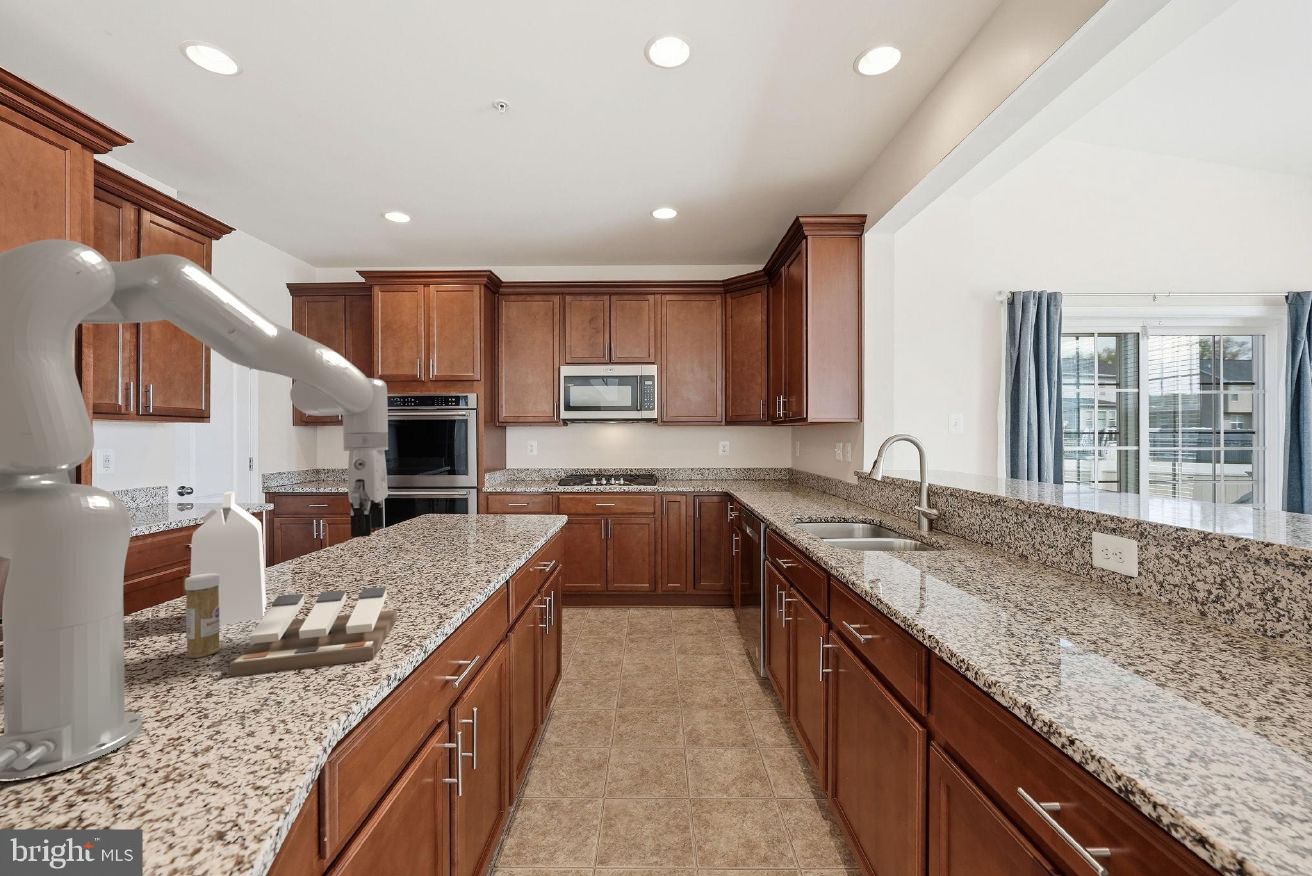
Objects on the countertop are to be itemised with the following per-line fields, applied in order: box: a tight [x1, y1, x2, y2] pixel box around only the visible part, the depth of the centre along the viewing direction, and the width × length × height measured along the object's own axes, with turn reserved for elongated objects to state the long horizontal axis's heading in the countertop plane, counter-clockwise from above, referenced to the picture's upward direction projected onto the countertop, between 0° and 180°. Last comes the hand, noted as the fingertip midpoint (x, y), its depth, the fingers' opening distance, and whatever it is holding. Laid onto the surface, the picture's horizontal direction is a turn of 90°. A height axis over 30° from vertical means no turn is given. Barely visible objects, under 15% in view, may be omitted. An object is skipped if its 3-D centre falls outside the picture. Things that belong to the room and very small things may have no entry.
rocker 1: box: [249, 593, 305, 645], centre depth 91 cm, size 12×4×2 cm, turn 16°
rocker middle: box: [299, 590, 347, 639], centre depth 93 cm, size 12×4×2 cm, turn 16°
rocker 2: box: [346, 586, 388, 634], centre depth 95 cm, size 12×4×2 cm, turn 16°
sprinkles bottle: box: [184, 573, 221, 659], centre depth 90 cm, size 5×5×14 cm
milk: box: [189, 491, 267, 627], centre depth 109 cm, size 12×12×26 cm
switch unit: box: [229, 609, 398, 677], centre depth 93 cm, size 20×20×4 cm
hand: (368, 531), depth 100 cm, fingers open, 9 cm apart
